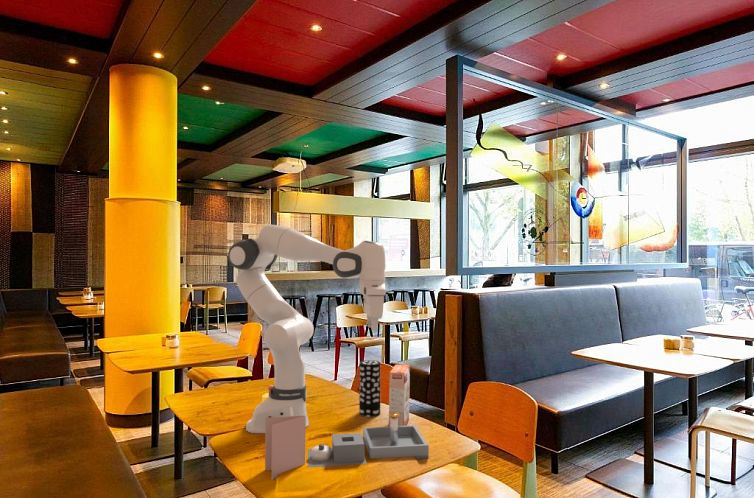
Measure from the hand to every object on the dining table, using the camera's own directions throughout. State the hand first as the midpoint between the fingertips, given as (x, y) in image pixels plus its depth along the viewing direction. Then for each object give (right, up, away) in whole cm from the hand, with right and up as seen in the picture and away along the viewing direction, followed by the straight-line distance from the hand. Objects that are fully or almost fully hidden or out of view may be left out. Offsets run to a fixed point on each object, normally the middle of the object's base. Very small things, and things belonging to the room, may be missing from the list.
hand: (372, 329), depth 163 cm
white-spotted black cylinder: (-1, -38, +26) cm, 46 cm away
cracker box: (+10, -38, +13) cm, 41 cm away
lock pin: (+7, -36, -9) cm, 38 cm away
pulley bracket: (-11, -37, -18) cm, 42 cm away
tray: (+7, -37, -9) cm, 39 cm away
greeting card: (-25, -37, -27) cm, 52 cm away
